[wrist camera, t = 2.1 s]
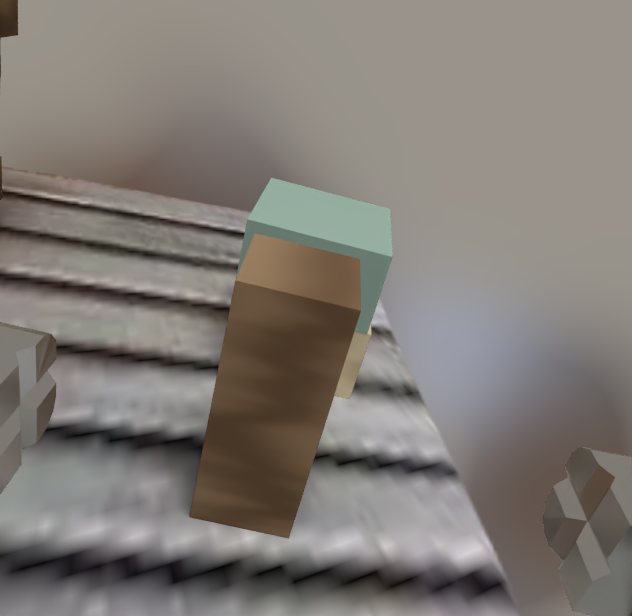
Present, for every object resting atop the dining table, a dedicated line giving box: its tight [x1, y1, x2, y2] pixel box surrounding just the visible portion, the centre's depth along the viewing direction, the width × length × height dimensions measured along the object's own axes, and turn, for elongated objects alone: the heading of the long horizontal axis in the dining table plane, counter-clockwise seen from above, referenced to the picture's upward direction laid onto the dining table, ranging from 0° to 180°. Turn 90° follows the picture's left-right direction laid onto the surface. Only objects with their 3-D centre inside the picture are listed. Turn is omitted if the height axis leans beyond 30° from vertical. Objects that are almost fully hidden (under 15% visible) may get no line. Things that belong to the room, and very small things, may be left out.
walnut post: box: [190, 233, 361, 538], centre depth 25 cm, size 4×4×12 cm
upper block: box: [236, 178, 393, 334], centre depth 36 cm, size 8×8×5 cm
